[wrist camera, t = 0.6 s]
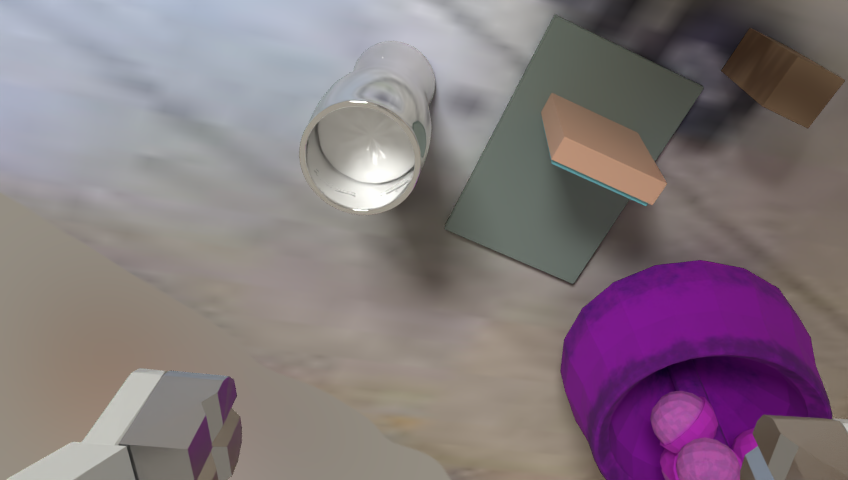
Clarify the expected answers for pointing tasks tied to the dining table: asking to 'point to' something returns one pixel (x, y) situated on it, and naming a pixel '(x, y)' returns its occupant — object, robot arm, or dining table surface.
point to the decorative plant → (686, 371)
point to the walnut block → (781, 78)
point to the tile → (600, 151)
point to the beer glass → (371, 131)
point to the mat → (530, 160)
